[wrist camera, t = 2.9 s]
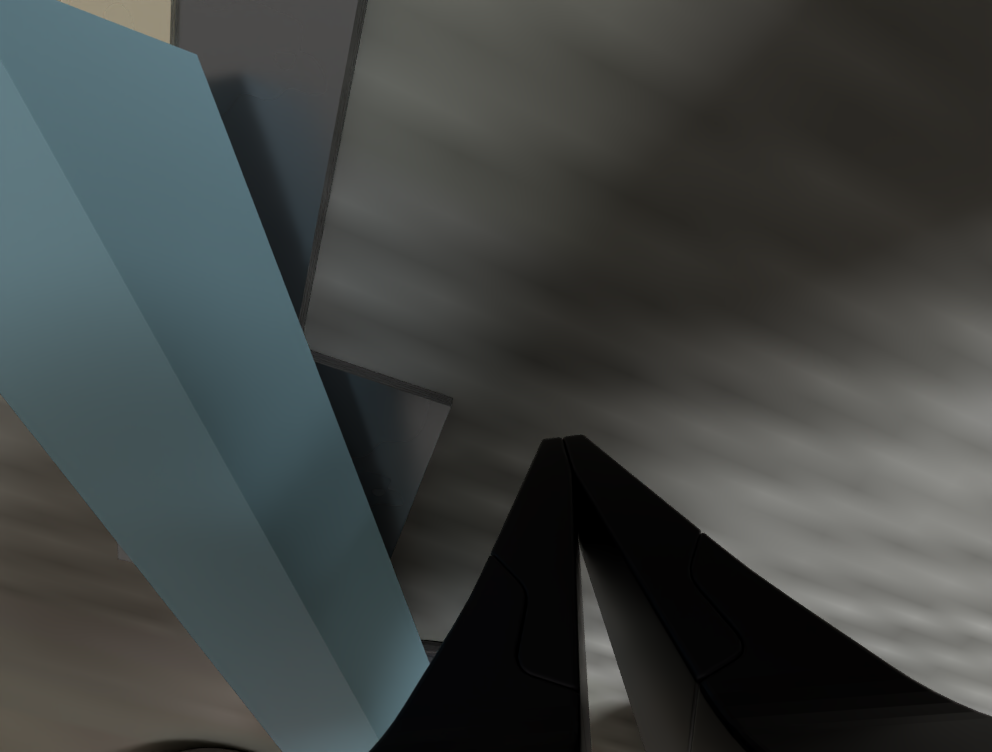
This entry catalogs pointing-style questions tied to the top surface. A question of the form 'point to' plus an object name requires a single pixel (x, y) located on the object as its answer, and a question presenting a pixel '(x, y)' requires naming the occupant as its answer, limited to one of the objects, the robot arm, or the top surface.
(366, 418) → the label plate
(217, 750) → the soda can
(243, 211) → the swing bar
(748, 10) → the top surface
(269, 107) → the label plate
